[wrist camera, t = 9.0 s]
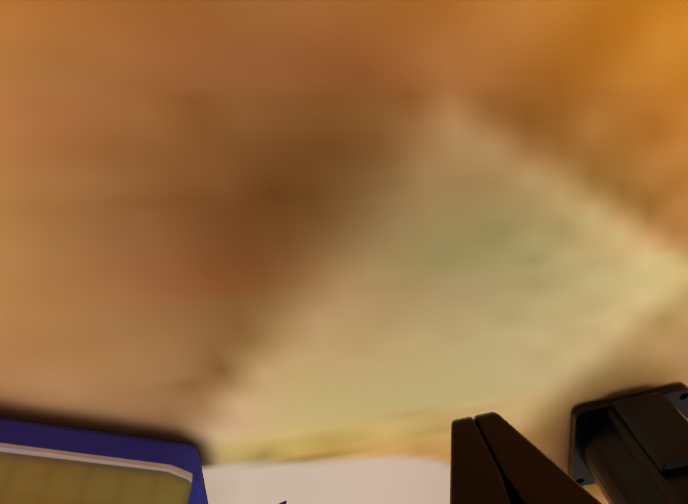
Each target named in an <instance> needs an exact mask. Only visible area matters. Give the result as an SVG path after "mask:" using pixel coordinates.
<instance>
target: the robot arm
mask: <svg viewBox="0 0 688 504" xmlns="http://www.w3.org/2000/svg"><path fill="white" fill-rule="evenodd" d="M687 418H688V387H687V386H686V385H684V384H683V385H676V386H672V387H667V388H662V389H658V390H653V391H648V392H644V393H639V394H634V395H630V396H625V397H621V398H616V399H611V400H607V401H602V402H597V403H593V404H588V405H583V406H580V407H578V408H576V409H575V410H574V411H573V414H572V428H571V444H570V461H569V475H568V474H567V473H566V472H565V471H563V470H562V469H561V468H560V467H559V466H558V465H556V464H555V463H554V462H553V461H552V460H551V459H549V458H548V457H547V456H546V455H545V454H544V453H543V452H541V451H540V450H539V449H538V448H537V447H536V446H534V445H533V444H532V443H531V442H530V441H529V440H528V439H526V438H525V437H524V436H523V435H522V434H521V433H519V432H518V431H517V430H516V429H515V428H514V427H513V426H511V425H510V424H509V423H508V422H507V421H506V420H504V419H503V418H502V417H501V416H500V415H499V414H497V413H495V412H489V413H484V414H480V415H476V416H475V417H474V419H473V418H472V417H466V418H461V419H457V420H453V421H452V423H451V476H450V504H601V503H600V502H599V501H598V500H597V499H596V498H595V497H593V496H592V495H591V494H590V493H589V492H588V491H586V490H585V489H584V488H583V487H582V486H583V485H588V484H593V483H596V484H597V485H598V487H599V488H600V490H601V492H602V493H603V495H604V496H605V498H606V500H607V501H608V503H609V504H688V420H687Z"/></svg>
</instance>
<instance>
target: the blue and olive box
mask: <svg viewBox="0 0 688 504" xmlns="http://www.w3.org/2000/svg"><path fill="white" fill-rule="evenodd" d="M0 504H208V501H207V495H206V489H205V484H204V478H203V473H202V467H201V462H200V456H199V453H198V451H197V450H196V448H195V446H194V445H193V444H187V443H180V442H173V441H166V440H159V439H151V438H144V437H137V436H130V435H122V434H115V433H108V432H101V431H94V430H86V429H79V428H72V427H65V426H58V425H50V424H43V423H36V422H29V421H22V420H14V419H7V418H0ZM280 504H286V501H284V502H282V503H280Z"/></svg>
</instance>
